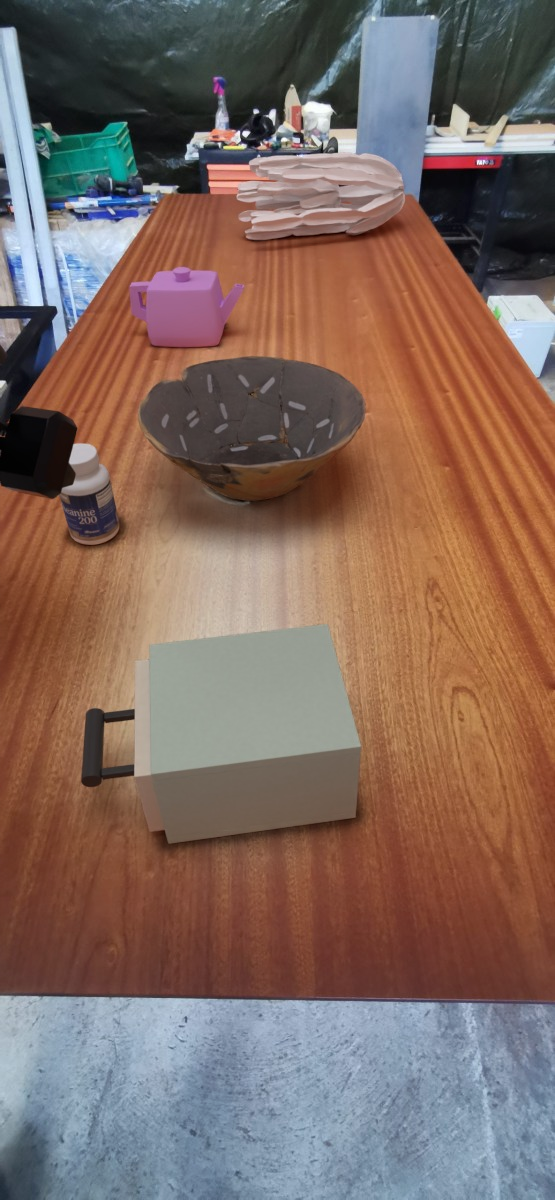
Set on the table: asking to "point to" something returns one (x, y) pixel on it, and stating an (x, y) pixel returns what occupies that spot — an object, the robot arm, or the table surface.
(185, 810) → the cabinet
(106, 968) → the table surface
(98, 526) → the pill bottle
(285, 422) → the bowl
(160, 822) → the drawer
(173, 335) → the teapot
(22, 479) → the robot arm
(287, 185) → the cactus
